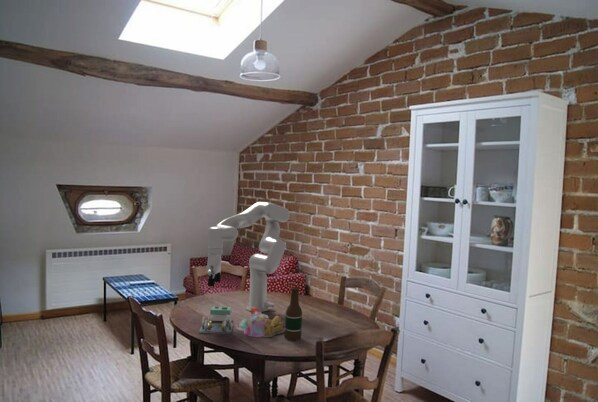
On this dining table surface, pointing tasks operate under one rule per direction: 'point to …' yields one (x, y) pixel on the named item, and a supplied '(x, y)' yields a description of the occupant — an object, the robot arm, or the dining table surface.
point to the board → (220, 310)
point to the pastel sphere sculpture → (261, 325)
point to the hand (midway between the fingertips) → (214, 284)
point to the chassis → (216, 326)
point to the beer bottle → (293, 317)
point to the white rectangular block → (219, 317)
